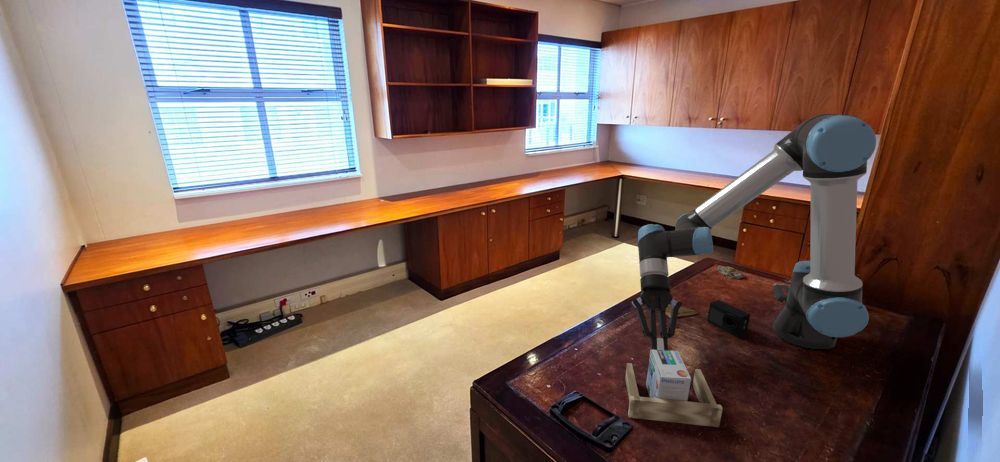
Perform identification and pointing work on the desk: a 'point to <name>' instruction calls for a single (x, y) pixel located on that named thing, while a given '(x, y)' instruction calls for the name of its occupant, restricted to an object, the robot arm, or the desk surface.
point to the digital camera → (728, 318)
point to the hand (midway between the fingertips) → (660, 364)
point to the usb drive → (781, 292)
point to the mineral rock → (730, 272)
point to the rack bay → (674, 404)
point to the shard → (680, 311)
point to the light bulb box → (667, 376)
